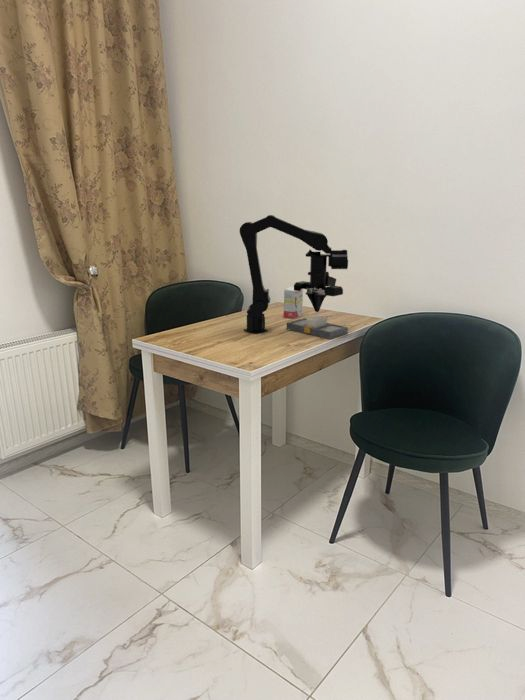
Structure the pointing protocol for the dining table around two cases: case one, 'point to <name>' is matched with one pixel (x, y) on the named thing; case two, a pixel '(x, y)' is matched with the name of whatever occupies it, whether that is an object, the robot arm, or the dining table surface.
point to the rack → (318, 329)
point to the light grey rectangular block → (316, 322)
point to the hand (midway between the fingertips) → (317, 311)
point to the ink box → (293, 302)
